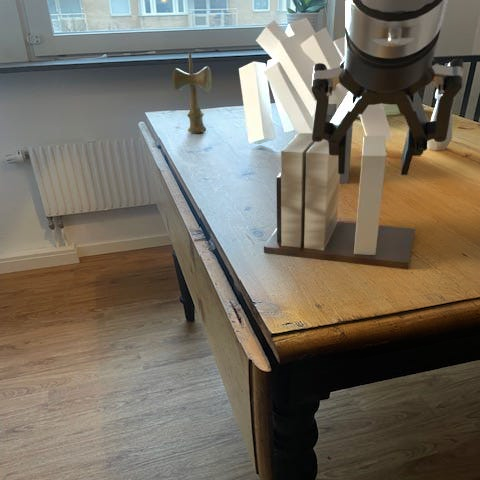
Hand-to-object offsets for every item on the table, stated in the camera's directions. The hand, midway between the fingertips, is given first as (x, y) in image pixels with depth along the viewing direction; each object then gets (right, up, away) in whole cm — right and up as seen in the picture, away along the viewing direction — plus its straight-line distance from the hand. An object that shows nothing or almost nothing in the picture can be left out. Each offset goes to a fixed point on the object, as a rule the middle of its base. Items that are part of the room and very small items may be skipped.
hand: (373, 164), depth 62 cm
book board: (-1, -8, +15) cm, 17 cm away
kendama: (-29, +33, +79) cm, 90 cm away
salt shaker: (+29, +20, +54) cm, 65 cm away
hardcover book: (+25, +43, +88) cm, 101 cm away
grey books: (+3, +11, +42) cm, 43 cm away
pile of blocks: (+2, +26, +65) cm, 70 cm away
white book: (+2, -7, +13) cm, 15 cm away
